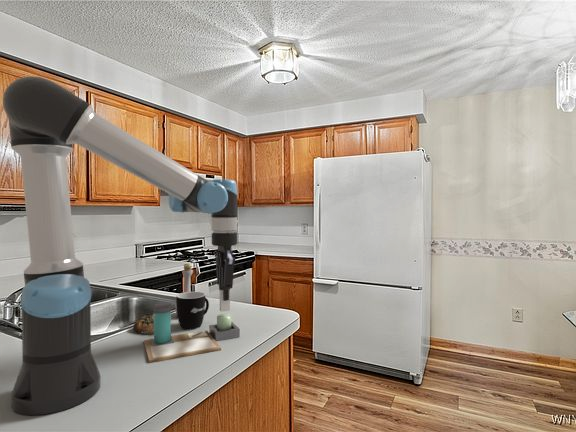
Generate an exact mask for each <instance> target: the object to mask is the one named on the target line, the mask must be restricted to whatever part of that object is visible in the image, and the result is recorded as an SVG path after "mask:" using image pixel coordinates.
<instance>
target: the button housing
mask: <svg viewBox="0 0 576 432" xmlns="http://www.w3.org/2000/svg"><path fill="white" fill-rule="evenodd" d="M208 327H209V328H208V329H209V331H208V332H209V333H210V335H211V336H212V337H213V338H214V340H215V341H216V342H218V340H219V341H224V340H230V339H236V338H241V336H240V334H241V333H240V332H241V331H240V328H239V327H238V326H237V325H236V324H235V323H234V322H233V321H231V329H229V330H222V331H218V330H217V323H215V324H209V325H208Z"/></svg>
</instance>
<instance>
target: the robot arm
mask: <svg viewBox="0 0 576 432" xmlns="http://www.w3.org/2000/svg"><path fill="white" fill-rule="evenodd" d="M2 105H3V110H4V112H5V115H6V116H7V118H8V126H9V129H8V130H9V138H10V147H11V150H12V151H14V153H16V154H17V155H19V157H20V161H21V162H20V163H21V164H20V165H21V171H22V172H21V173H22V183H23V192H24V193H23V194H24V202H25V203H24V204H25V213H26V224H27V235H28V243H29V255H30V263H29V264H28V265H27V267H26V268H25V269H24V270H23V278H24V279H23V280H24V286H23V288H22V290H21V291H22V292H21V296H20V307H21V320H22V321H21V333H22V334H21V335H22V336H21V339H22V345H21V347H22V348H21V349H22V351H21V352H22V364H21V367H20V369H19V372H18V376H17V378H16V380H15V383H14V385H13V386H14V387H13V389H12V392H11V395H10V396H11V398H10V399H11V409H12V411H14V412H15V413H17V414H20V415H27V416H37V415H38V416H39V415H47V414H54V413H58V412H61V411H64V410H68V409H70V408H73V407H76V406H78V405H80V404H82V403H84V402H86V401H87V400H89V399H91V398H92V397H93V396H95V395H96V394H97V393H98V391H99V390H100V388H101V374H100V370H99V368H98V366H97V363H96V360H95V358H94V355H93V353H92V346H91V345H92V344H91V342H92V341H91V340H92V339H91V338H92V337H91V336H92V334H91V333H92V332H91V331H92V330H91V327H92V326H91V325H92V324H91V323H92V322H91V318H92V315H91V311H92V310H91V300H92V296H93V295H92V288H91V283H90V281H89V280H88V278H86V277H85V273H84V263H83V262H82V261H81V260H78V258H76V252H75V251H76V250H75V244H74V243H75V242H74V231H73V220H72V219H73V218H72V209H71V199H70V198H71V197H70V186H69V176H68V163H67V156H68V155H70V154H71V153H72V152H73V151H74V147H73V144H74V145H75V144H76V145H77V146H79V147H82V148H83V149H84V150H87V151H88V152H91V153H92V154H94V155H96V156H98V157H100V158H102V159H103V160H106V161H107V162H109V163H111V164H113V165H115V166H116V167H118V168H120V169H122V170H124V171H125V172H128V173H130V174H131V175H132V176H135V177H137V178H139V179H141V180H142V181H145V182H147V184H148V183H149V184H150V185H152V186H154V187H155V188H157V189H160V190H161V191H163V192H165V193H167V195H168V205H169V208H170V210H171V211H172V212H173V213H182V214H183V213H202V214H203V213H204V214H208V215H209V214H211V223H210V224H211V225H210V226H211V228H210V230H211V231H212V233H211V245H212V246H215V247H217V250H216V252H215V253H214V258H215V267H216V268H215V269H216V281H217V282H216V283H217V286H218V290H219V311H220V313H222V312H228V311H231V289H233V285H234V274H235V273H234V272H235V271H234V270H235V262H236V257H235V256H234V251H233V250H232V247H233V246H237V244H238V233H237V232H236V231H238V224H239V220H238V186H237V182H236V180H234V179H227V178H225V179H224V178H223V179H222V178H221V179H220V178H219V179H217V178H215V179H212V180H211V181H209V180H207V179H205V178H204V177H203V176H201V175H199V174H197V173H196V172H194V171H192V170H191V169H189V168H187V167H186V166H184V165H182V164H180V163H179V162H177V161H176V160H173V159H172V158H171V157H169V156H167V154H164V153H162V152H160V151H159V150H157V149H156V148H154V147H152V146H151V145H149V144H148V143H145V142H144V141H142V140H140V139H139V138H137V137H136V136H134V135H132V134H130V133H129V132H127V131H126V130H124V129H122V128H121V127H119V126H118V125H115V124H114V123H112V122H111V121H109V120H108V119H106V118H104V117H102V116H101V115H99V114H97V113H96V112H95V111H94V108H93V105H92V104H90V103H89V102H88V101H85V100H84V99H82V98H81V97H79V96H78V95H76V94H74V93H73V92H71V91H69V90H68V89H67V88H65V87H63V86H61V85H60V84H58V83H56V82H54V81H52V80H50V79H48V78H44V77H41V76H33V75H32V76H31V75H30V76H24V77H20V78H18V79H15V80H14V81H12V82H11V83H10V84H9V85H7V87H6V88H5V91H4V93H3V96H2Z"/></svg>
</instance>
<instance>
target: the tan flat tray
mask: <svg viewBox="0 0 576 432" xmlns="http://www.w3.org/2000/svg"><path fill="white" fill-rule="evenodd" d="M143 344H144V348H145V351H146V352H145V353H146V355H147V358H148V359H147V360H148V363H149V364H150V363H155V362H156V363H157V362H161V361H162V362H163V361H167V360H173V359H178V357H179V358H185V357H189V356H190V355H191V356H195V355H200V354H201V355H202V354H206V353H211V352H218V351H221V350H222V347H221V345H220V344H219V343H218V341H215V340H214V338H213V337H212V336H211V335H210V333H209V331H208V329H207V330H201V331H194V332H188V333H181V334H175V335H171V341H169V342H167V343H163V344H157V343H154V337H152V338H148V339H146V338H145V339H143ZM184 356H185V357H184Z"/></svg>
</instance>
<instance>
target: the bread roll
mask: <svg viewBox="0 0 576 432" xmlns="http://www.w3.org/2000/svg"><path fill="white" fill-rule="evenodd" d="M132 331H133V333H136V334H139V335H141V334H142V333H143V334H144V335H154V313H152V314H149V315H147V316H146V314H145V315H143V316H142V317H140V318H138V319H137V320H136V322H135V323H134V324H133V326H132Z"/></svg>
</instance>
